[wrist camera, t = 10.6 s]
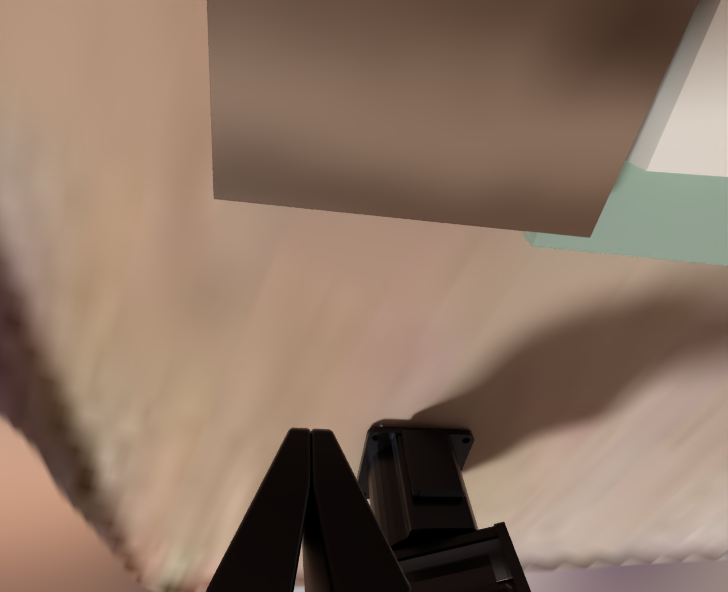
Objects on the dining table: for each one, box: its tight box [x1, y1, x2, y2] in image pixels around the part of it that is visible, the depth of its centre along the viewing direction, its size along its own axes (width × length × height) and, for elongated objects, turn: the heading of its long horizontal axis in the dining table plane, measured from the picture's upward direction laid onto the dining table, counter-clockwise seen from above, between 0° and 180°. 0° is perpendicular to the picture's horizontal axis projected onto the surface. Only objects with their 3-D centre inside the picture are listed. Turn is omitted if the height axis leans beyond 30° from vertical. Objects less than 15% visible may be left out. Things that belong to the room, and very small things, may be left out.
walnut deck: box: [207, 0, 698, 238], centre depth 14 cm, size 13×14×3 cm
